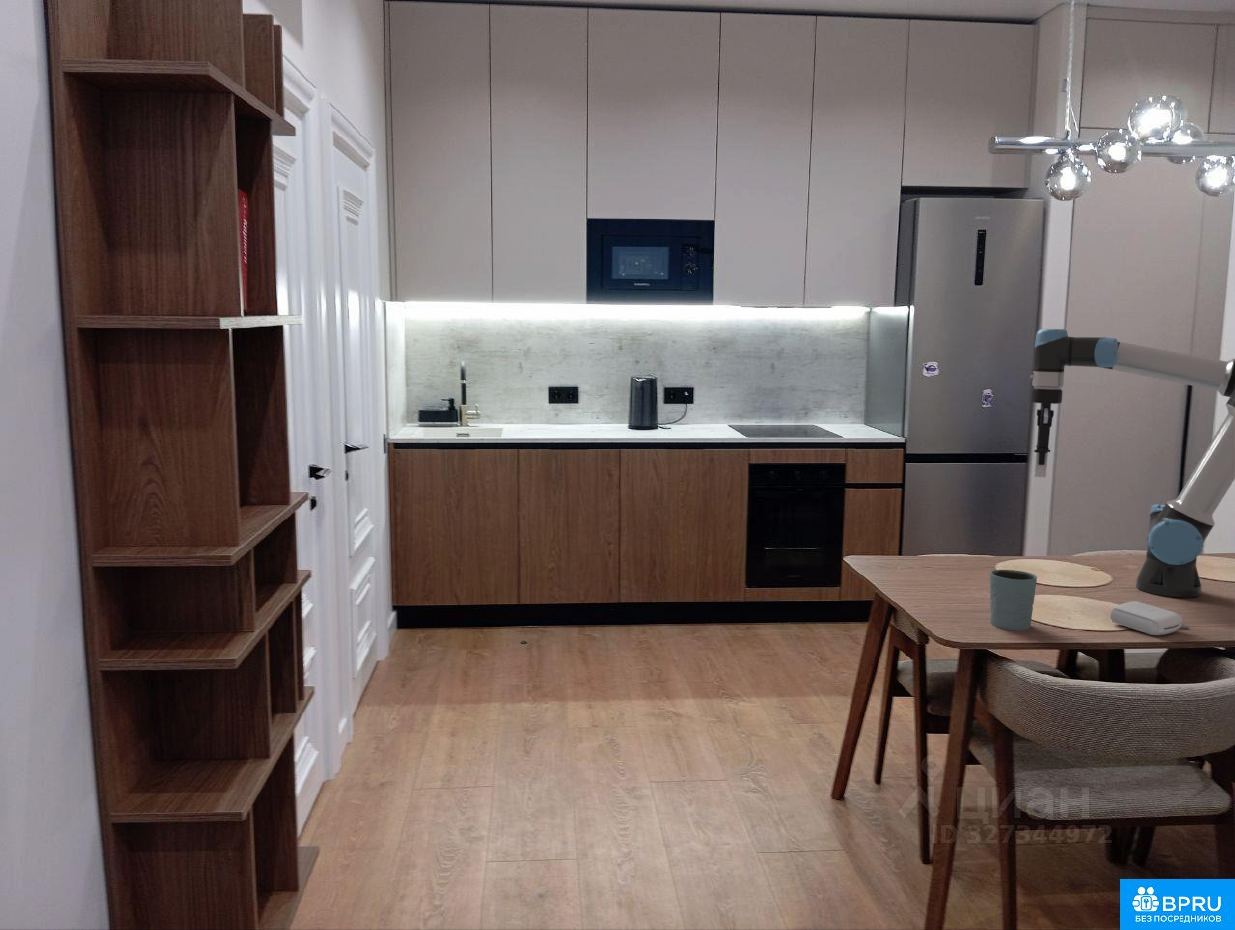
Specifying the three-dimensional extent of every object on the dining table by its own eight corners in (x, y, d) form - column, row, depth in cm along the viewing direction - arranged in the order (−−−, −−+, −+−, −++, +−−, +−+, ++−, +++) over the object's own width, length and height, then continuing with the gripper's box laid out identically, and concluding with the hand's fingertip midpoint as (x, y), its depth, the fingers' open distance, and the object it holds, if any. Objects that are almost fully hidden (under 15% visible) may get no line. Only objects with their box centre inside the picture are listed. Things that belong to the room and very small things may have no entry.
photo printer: (1136, 598, 232) (1188, 614, 222) (1134, 615, 233) (1186, 632, 223) (1110, 605, 227) (1163, 622, 217) (1108, 623, 228) (1160, 640, 217)
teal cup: (1009, 633, 219) (1013, 581, 218) (976, 620, 229) (980, 570, 227) (1043, 628, 223) (1047, 577, 222) (1009, 616, 233) (1013, 567, 231)
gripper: (1031, 386, 265) (1024, 472, 268) (1032, 388, 253) (1025, 478, 256) (1061, 387, 262) (1054, 474, 265) (1064, 389, 250) (1056, 480, 253)
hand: (1040, 476), depth 261 cm, fingers closed
